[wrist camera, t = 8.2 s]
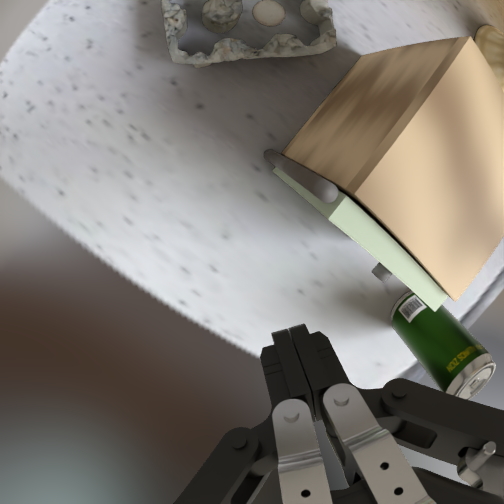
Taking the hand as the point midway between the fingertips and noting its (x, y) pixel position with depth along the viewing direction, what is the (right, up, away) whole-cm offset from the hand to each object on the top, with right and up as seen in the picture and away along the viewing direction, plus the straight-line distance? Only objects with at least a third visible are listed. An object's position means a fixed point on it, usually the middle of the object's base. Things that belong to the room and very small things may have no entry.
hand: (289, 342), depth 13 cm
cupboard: (+7, +12, +8) cm, 16 cm away
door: (+4, +7, +9) cm, 12 cm away
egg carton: (-2, +20, +3) cm, 20 cm away
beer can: (+15, -2, +16) cm, 22 cm away
